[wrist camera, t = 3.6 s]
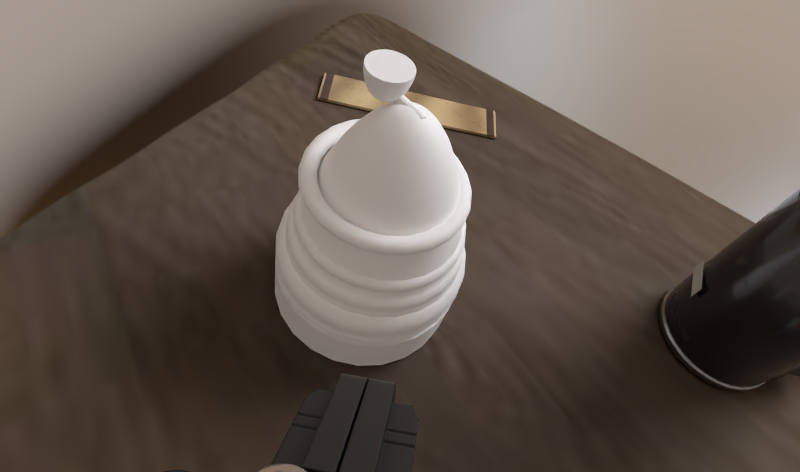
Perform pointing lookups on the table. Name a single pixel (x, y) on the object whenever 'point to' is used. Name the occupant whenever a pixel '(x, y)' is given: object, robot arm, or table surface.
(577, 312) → the table surface
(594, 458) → the table surface
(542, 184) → the table surface
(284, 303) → the honey pot
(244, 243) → the table surface
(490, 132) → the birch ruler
